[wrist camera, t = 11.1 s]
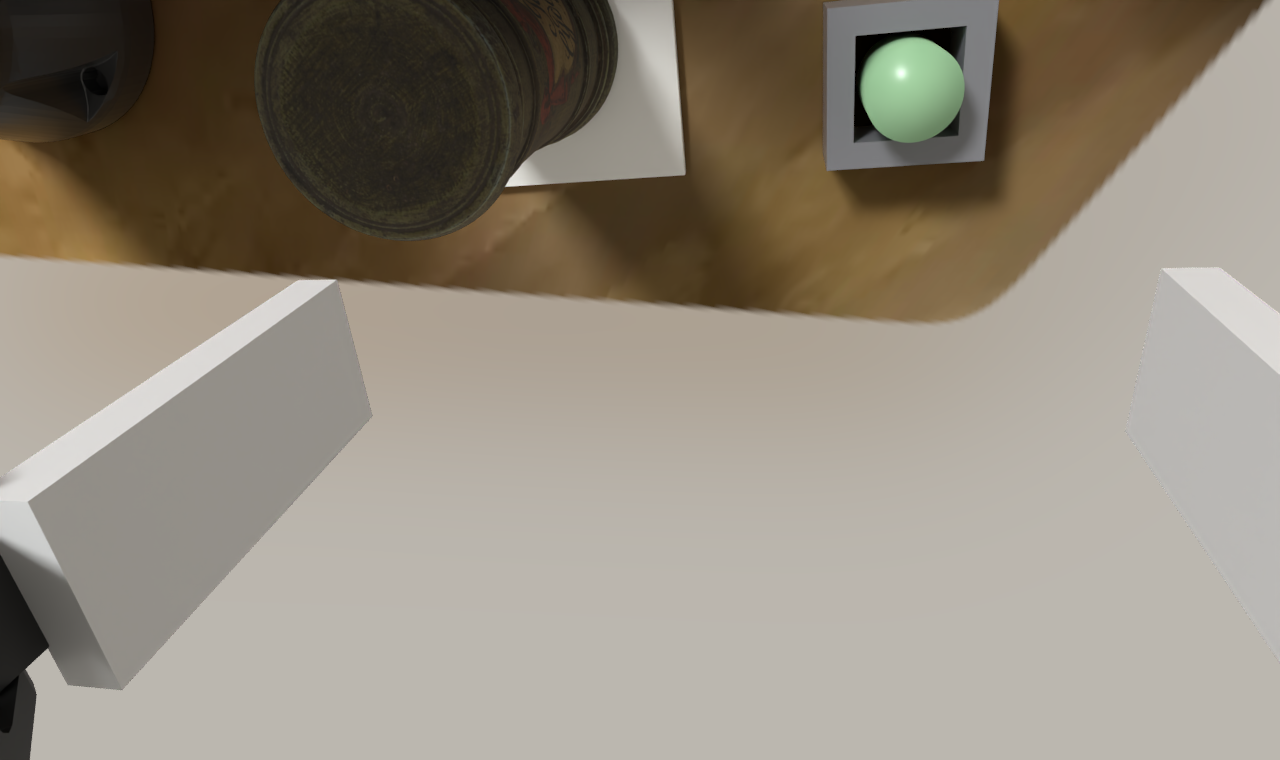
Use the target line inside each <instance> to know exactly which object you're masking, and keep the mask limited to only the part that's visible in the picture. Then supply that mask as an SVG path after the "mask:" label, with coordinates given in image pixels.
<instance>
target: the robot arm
mask: <svg viewBox="0 0 1280 760" xmlns="http://www.w3.org/2000/svg"><path fill="white" fill-rule="evenodd" d="M153 47H154V24H153V14H152V7H151V2H150V0H0V139H4V140H13V141H22V142H53V141H61V140H65V139H70V138H73V137H77V136H80V135H83V134H87V133H90V132H93V131H96V130H99V129H102V128H104V127H106V126H108V125H110V124H112V123H114V122H115V121H116V120H118V119H119V118H121V117H122V116H123V115H124V114H125V113H126V112H127V111H128V110H129V109H130V108H131V107H132V106H133V104H134V103H135V101H136V100H137V99H138V97H139V95H140V93H141V92H142V90H143V88H144V85H145V83H146V81H147V78H148V75H149V71H150V67H151V63H152V57H153ZM371 417H372V413H371V409H370V406H369V401H368V397H367V393H366V390H365V386H364V382H363V378H362V374H361V371H360V366H359V362H358V358H357V354H356V351H355V347H354V343H353V339H352V335H351V331H350V328H349V323H348V320H347V316H346V312H345V308H344V304H343V300H342V296H341V292H340V289H339V285H338V281H337V280H297V281H296V282H294V283H293V284H291V285H290V286H288V287H287V288H285V289H284V290H282V291H280V292H279V293H277V294H276V295H274V296H273V297H271V298H270V299H268V300H267V301H265V302H264V303H263V304H261V305H259V306H258V307H256V308H255V309H253V310H252V311H250V312H249V313H248V314H246V315H244V316H243V317H241V318H240V319H238V320H237V321H235V322H234V323H232V324H231V325H229V326H228V327H226V328H225V329H223V330H222V331H220V332H219V333H217V334H216V335H214V336H213V337H211V338H210V339H208V340H207V341H205V342H204V343H202V344H200V345H199V346H197V347H196V348H194V349H193V350H191V351H190V352H188V353H187V354H185V355H184V356H182V357H181V358H179V359H178V360H176V361H175V362H173V363H172V364H170V365H169V366H167V367H166V368H165V369H163V370H161V371H160V372H158V373H157V374H155V375H154V376H152V377H151V378H149V379H148V380H146V381H145V382H143V383H142V384H140V385H139V386H137V387H136V388H134V389H133V390H131V391H130V392H128V393H127V394H125V395H124V396H122V397H121V398H119V399H118V400H116V401H115V402H113V403H112V404H110V405H109V406H107V407H105V408H104V409H102V410H101V411H99V412H98V413H97V414H95V415H93V416H92V417H90V418H89V419H87V420H86V421H84V422H83V423H81V424H80V425H78V426H77V427H75V428H74V429H72V430H71V431H69V432H68V433H66V434H65V435H63V436H62V437H60V438H59V439H57V440H56V441H54V442H53V443H51V444H50V445H48V446H47V447H45V448H44V449H42V450H41V451H39V452H38V453H36V454H35V455H33V456H32V457H30V458H29V459H27V460H25V461H24V462H22V463H21V464H19V465H18V466H16V467H15V468H13V469H12V470H11V471H9V472H7V473H6V474H4V475H3V476H1V477H0V760H30V751H31V741H32V732H33V723H34V713H35V704H36V695H37V694H36V691H35V688H34V684H33V682H32V680H31V678H30V677H29V675H28V673H27V671H26V670H25V669H26V668H27V667H28V666H29V665H30V664H31V663H32V662H33V661H34V660H35V659H36V658H38V656H40V655H41V654H42V653H43V652H44V651H45V650H46V649H47V648H48V649H49V651H50V653H51V655H52V657H53V658H54V660H55V662H56V664H57V666H58V668H59V670H60V671H61V673H62V675H63V677H64V679H65V681H66V682H67V684H68V685H73V686H84V687H95V688H106V689H117V690H123V688H124V687H125V686H126V685H127V684H128V683H129V682H130V681H131V680H132V679H133V677H134V676H135V675H136V674H137V673H138V672H139V671H140V670H141V669H142V668H143V667H144V665H145V664H146V663H147V662H148V661H149V660H150V659H151V658H152V657H153V656H154V655H155V653H156V652H157V651H158V650H159V649H160V648H161V647H162V646H163V645H164V644H165V643H166V641H167V640H168V639H169V638H170V637H171V636H172V635H173V634H174V633H175V632H176V630H177V629H178V628H179V627H180V626H181V625H182V624H183V623H184V622H185V620H187V618H188V617H189V616H190V615H191V614H192V613H193V612H194V611H195V610H196V609H197V607H198V606H199V605H200V604H201V603H202V602H203V601H204V600H205V599H206V598H207V596H208V595H209V594H210V593H211V592H212V591H213V590H214V589H215V588H216V587H217V585H218V584H219V583H220V582H221V581H222V580H223V579H224V578H225V577H226V576H227V575H228V574H229V572H230V571H231V570H232V569H233V568H234V567H235V566H236V565H237V563H239V562H240V560H241V559H242V558H243V557H244V556H245V555H246V554H247V553H248V552H249V551H250V549H251V548H252V547H253V546H254V545H255V544H256V543H257V542H258V541H259V540H260V539H261V537H262V536H263V535H264V534H265V533H266V532H267V531H268V530H269V528H271V527H272V525H273V524H274V523H275V522H276V521H277V520H278V519H279V518H280V516H282V514H283V513H284V512H285V511H286V510H287V509H288V508H289V507H290V506H291V505H292V504H293V502H294V501H295V500H296V499H297V498H298V497H299V496H300V495H301V494H302V493H303V491H304V490H305V489H306V488H307V487H308V486H309V485H310V484H311V483H312V482H313V480H314V479H315V478H316V477H317V476H318V475H319V474H320V473H321V472H322V471H323V470H324V468H325V467H326V466H327V465H328V464H329V463H330V462H331V461H332V460H333V459H334V458H335V456H336V455H337V454H338V453H339V452H340V451H341V450H342V448H344V447H345V446H346V444H347V443H348V442H349V441H350V440H351V439H352V438H353V437H354V436H355V435H356V433H357V432H358V431H359V430H360V429H361V428H362V427H363V426H364V425H365V424H366V423H367V421H368V420H369V419H370V418H371ZM1126 433H1127V435H1128V436H1129V437H1130V439H1131V441H1132V442H1133V444H1134V445H1135V446H1136V448H1137V450H1138V451H1139V452H1140V454H1141V455H1142V457H1143V458H1144V460H1145V462H1146V463H1147V465H1148V466H1149V468H1150V469H1151V471H1152V472H1153V474H1154V475H1155V476H1156V478H1157V480H1158V481H1159V483H1160V484H1161V485H1162V487H1163V489H1164V490H1165V492H1166V493H1167V495H1168V496H1169V498H1170V499H1171V501H1172V502H1173V504H1174V505H1175V507H1176V508H1177V510H1178V511H1179V513H1180V514H1181V516H1182V517H1183V519H1184V520H1185V522H1186V523H1187V525H1188V526H1189V528H1190V529H1191V531H1192V532H1193V534H1194V535H1195V537H1196V538H1197V540H1198V541H1199V543H1200V544H1201V546H1202V547H1203V549H1204V550H1205V552H1206V553H1207V555H1208V556H1209V558H1210V559H1211V561H1212V562H1213V564H1214V565H1215V567H1216V568H1217V570H1218V571H1219V573H1220V574H1221V576H1222V577H1223V579H1224V580H1225V582H1226V583H1227V585H1228V586H1229V588H1230V589H1231V591H1232V592H1233V594H1234V595H1235V597H1236V598H1237V600H1238V601H1239V603H1240V604H1241V606H1242V608H1243V609H1244V611H1245V612H1246V614H1247V615H1248V616H1249V618H1250V620H1251V621H1252V623H1253V624H1254V626H1255V627H1256V628H1257V630H1258V631H1259V633H1260V635H1261V636H1262V638H1263V639H1264V640H1265V642H1266V643H1267V645H1268V646H1269V648H1270V650H1271V651H1272V653H1273V654H1274V655H1275V657H1276V658H1277V660H1278V662H1279V663H1280V314H1279V313H1278V312H1277V311H1276V310H1274V309H1273V308H1272V307H1270V306H1269V305H1268V304H1266V303H1265V302H1264V301H1263V300H1261V299H1260V298H1259V297H1257V296H1256V295H1255V294H1253V293H1252V292H1251V291H1250V290H1248V289H1247V288H1246V287H1244V286H1243V285H1242V284H1241V283H1239V282H1238V281H1237V280H1235V279H1234V278H1233V277H1231V276H1230V275H1229V274H1228V273H1226V272H1225V271H1224V270H1222V269H1221V268H1220V267H1215V268H1214V267H1213V268H1161V271H1160V275H1159V280H1158V285H1157V289H1156V294H1155V299H1154V303H1153V307H1152V312H1151V317H1150V321H1149V326H1148V330H1147V335H1146V339H1145V344H1144V348H1143V353H1142V357H1141V362H1140V367H1139V371H1138V376H1137V380H1136V385H1135V390H1134V394H1133V399H1132V403H1131V408H1130V412H1129V417H1128V421H1127V426H1126Z"/></svg>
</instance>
